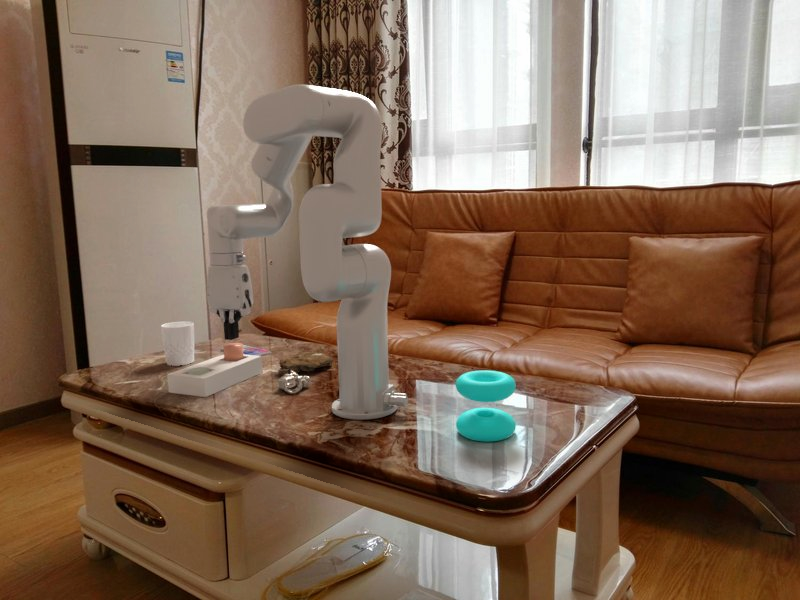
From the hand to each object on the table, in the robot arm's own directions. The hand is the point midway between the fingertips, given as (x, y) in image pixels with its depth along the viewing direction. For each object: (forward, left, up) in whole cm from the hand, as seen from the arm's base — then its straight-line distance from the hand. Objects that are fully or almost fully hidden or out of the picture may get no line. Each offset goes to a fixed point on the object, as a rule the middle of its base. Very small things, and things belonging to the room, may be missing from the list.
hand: (231, 338), depth 145 cm
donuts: (-65, +16, -9) cm, 68 cm away
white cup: (+21, -5, -9) cm, 23 cm away
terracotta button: (0, 0, -6) cm, 6 cm away
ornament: (-20, +5, -9) cm, 22 cm away
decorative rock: (-13, -10, -9) cm, 19 cm away
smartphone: (+12, -20, -9) cm, 25 cm away
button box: (0, +6, -9) cm, 11 cm away
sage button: (0, +12, -8) cm, 15 cm away
